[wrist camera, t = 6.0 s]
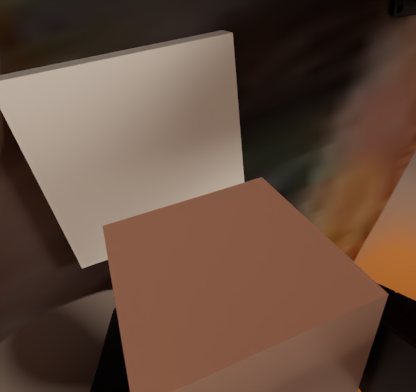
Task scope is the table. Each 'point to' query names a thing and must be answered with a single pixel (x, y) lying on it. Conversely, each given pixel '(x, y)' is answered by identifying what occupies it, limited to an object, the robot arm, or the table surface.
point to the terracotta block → (239, 298)
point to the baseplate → (128, 132)
